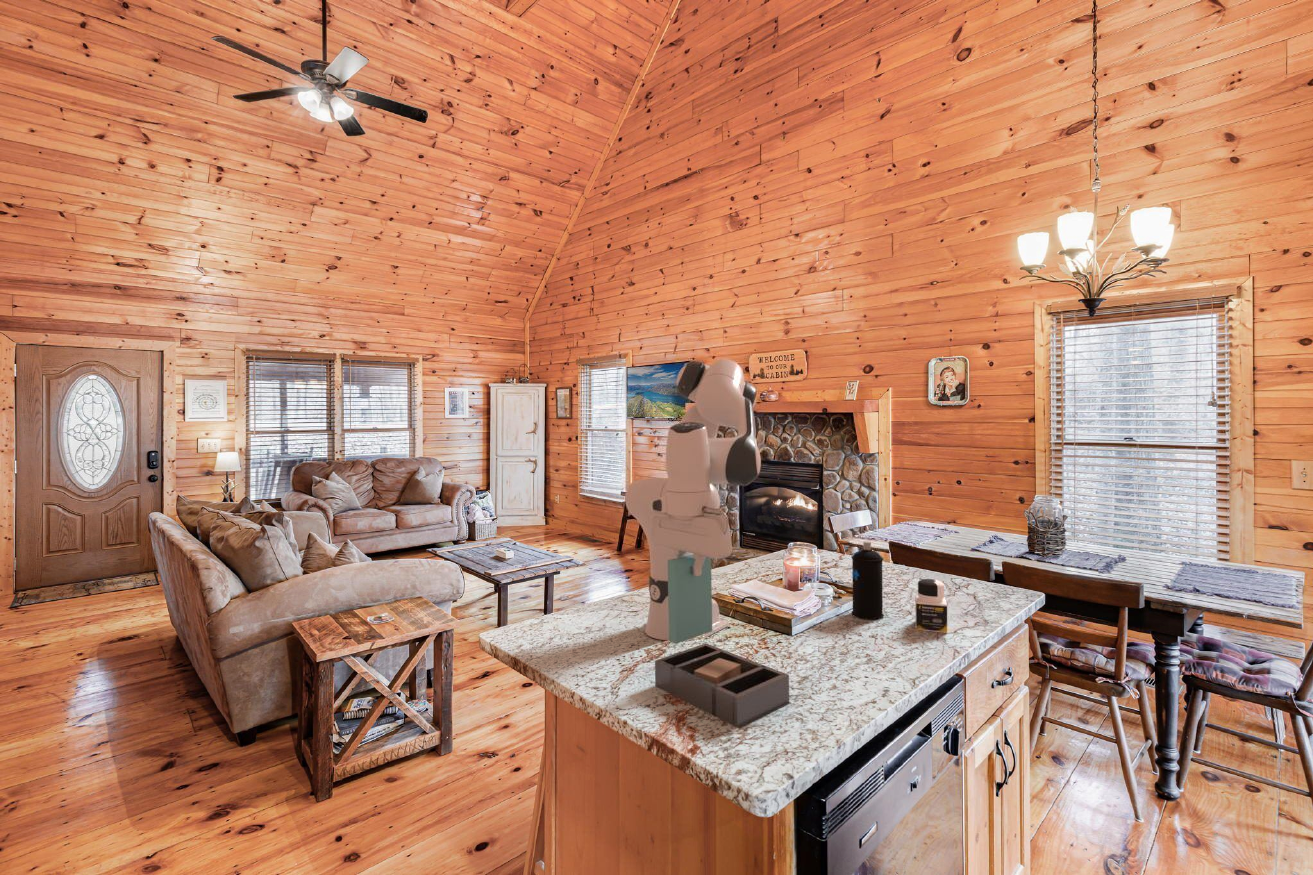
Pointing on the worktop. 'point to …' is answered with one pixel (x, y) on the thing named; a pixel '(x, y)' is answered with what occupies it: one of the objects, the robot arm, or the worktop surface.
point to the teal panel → (689, 599)
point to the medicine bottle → (931, 606)
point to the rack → (723, 685)
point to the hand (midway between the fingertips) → (690, 573)
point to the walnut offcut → (718, 671)
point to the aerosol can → (867, 584)
